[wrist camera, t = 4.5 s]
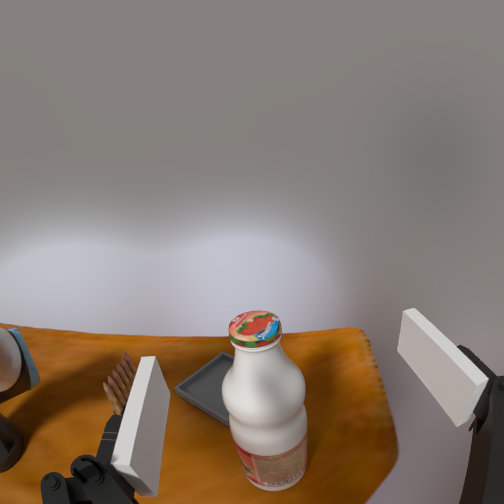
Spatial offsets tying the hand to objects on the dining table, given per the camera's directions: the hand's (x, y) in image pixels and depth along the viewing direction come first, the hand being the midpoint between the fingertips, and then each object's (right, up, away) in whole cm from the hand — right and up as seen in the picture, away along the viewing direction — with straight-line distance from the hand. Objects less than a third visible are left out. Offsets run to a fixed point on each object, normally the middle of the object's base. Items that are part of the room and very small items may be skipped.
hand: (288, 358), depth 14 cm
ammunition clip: (-24, -26, +36) cm, 51 cm away
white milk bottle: (+2, -28, +22) cm, 35 cm away
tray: (-7, -22, +41) cm, 47 cm away
